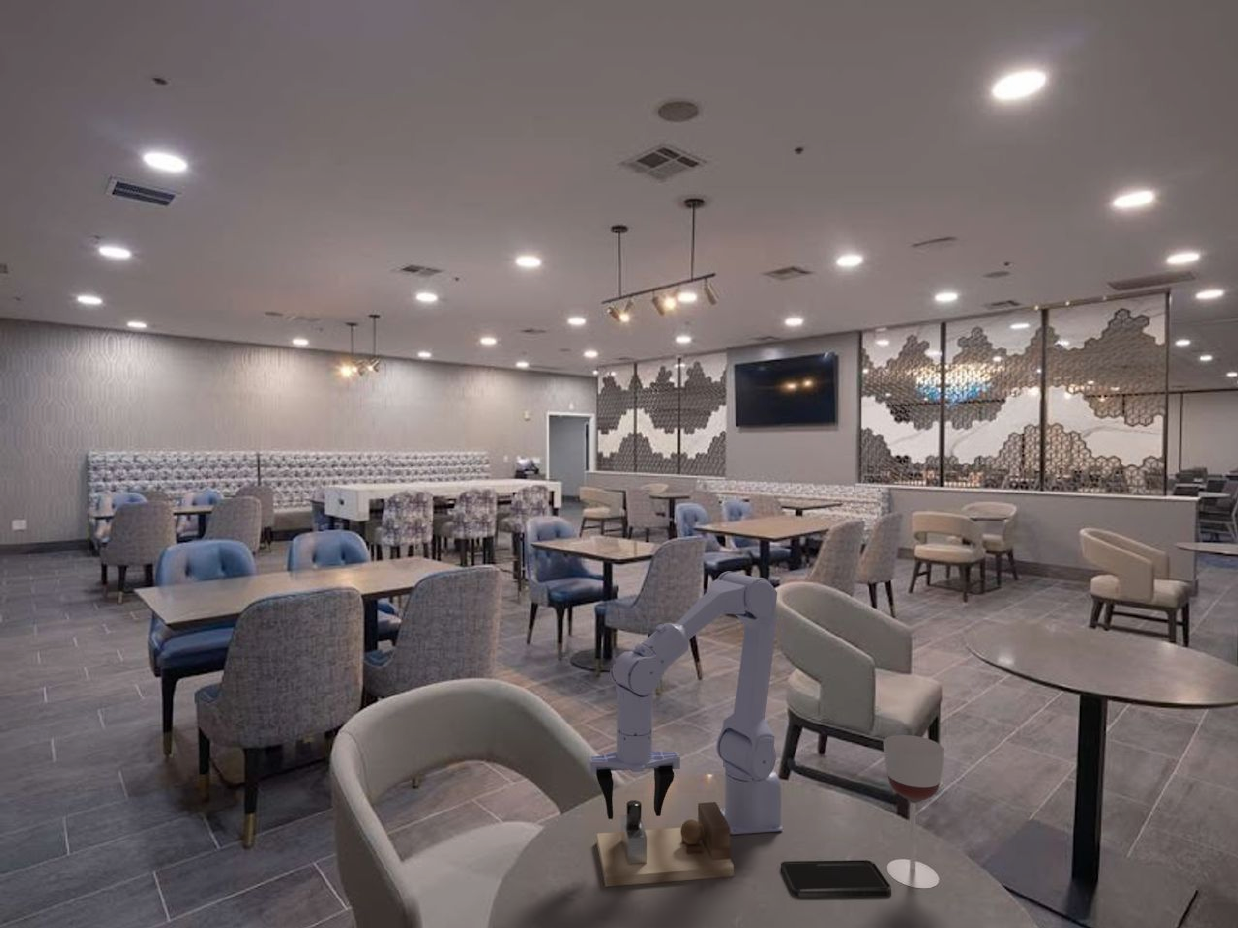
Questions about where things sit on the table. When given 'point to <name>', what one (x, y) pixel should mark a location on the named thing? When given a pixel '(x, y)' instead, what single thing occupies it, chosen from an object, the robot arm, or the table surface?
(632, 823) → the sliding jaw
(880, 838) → the table surface
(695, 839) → the walnut
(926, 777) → the wineglass
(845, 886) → the phone
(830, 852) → the table surface
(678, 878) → the base
